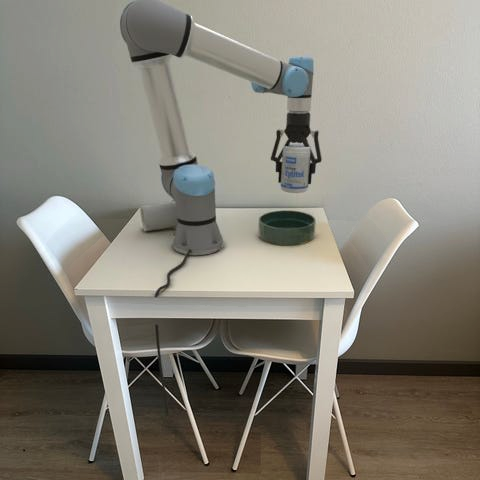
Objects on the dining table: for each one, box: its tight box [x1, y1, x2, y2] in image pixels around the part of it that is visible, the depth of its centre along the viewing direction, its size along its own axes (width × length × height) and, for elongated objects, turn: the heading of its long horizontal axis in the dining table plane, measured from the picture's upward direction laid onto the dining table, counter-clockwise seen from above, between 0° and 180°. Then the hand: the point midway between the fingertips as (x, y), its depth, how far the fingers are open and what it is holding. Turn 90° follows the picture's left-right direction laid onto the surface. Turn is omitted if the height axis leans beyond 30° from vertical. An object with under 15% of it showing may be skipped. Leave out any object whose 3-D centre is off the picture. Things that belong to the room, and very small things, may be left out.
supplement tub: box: [280, 143, 312, 194], centre depth 158 cm, size 10×10×15 cm
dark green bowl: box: [258, 210, 317, 246], centre depth 150 cm, size 18×18×6 cm
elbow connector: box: [139, 199, 178, 232], centre depth 160 cm, size 18×11×20 cm
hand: (294, 182), depth 161 cm, fingers closed on supplement tub, 10 cm apart
